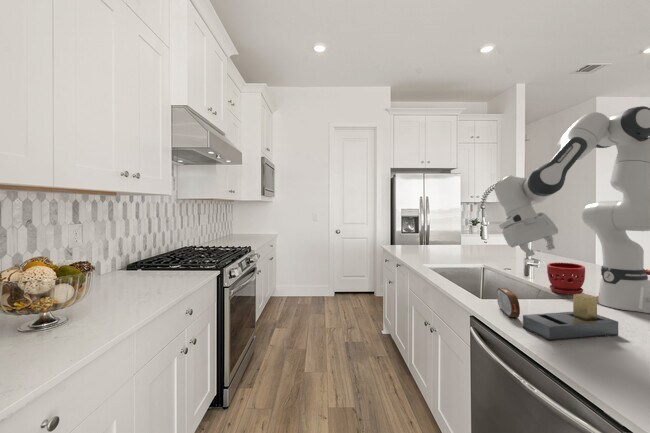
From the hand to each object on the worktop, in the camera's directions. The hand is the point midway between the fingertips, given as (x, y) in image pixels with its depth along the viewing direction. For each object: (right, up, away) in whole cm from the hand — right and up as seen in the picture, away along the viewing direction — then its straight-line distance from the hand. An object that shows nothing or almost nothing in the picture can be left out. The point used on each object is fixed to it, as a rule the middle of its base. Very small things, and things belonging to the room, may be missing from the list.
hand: (542, 252), depth 112 cm
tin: (-12, -22, 0) cm, 25 cm away
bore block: (-4, -22, -17) cm, 28 cm away
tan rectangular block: (+2, -21, -16) cm, 27 cm away
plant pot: (+27, -20, +25) cm, 42 cm away
